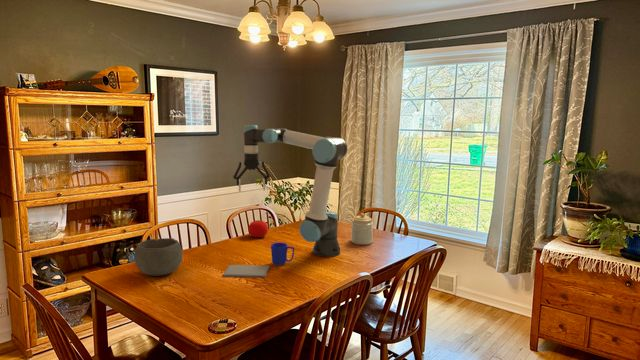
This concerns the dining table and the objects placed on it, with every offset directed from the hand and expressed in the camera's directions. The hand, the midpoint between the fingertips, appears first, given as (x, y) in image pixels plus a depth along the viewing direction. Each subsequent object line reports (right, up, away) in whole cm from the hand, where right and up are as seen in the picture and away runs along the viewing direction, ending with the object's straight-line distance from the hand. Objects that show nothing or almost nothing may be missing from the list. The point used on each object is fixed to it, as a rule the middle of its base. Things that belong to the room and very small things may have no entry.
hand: (252, 190), depth 241 cm
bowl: (-38, -39, -37) cm, 66 cm away
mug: (+19, -37, -22) cm, 47 cm away
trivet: (+3, -38, -34) cm, 51 cm away
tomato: (0, -30, +27) cm, 40 cm away
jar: (+64, -32, +18) cm, 73 cm away
